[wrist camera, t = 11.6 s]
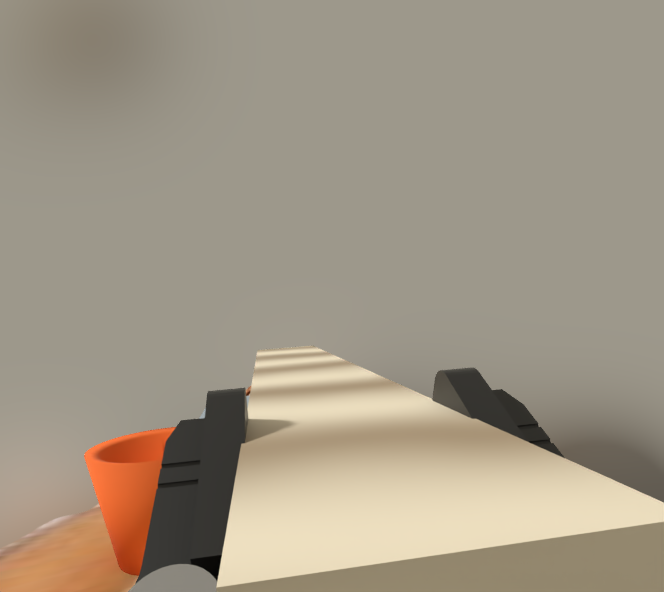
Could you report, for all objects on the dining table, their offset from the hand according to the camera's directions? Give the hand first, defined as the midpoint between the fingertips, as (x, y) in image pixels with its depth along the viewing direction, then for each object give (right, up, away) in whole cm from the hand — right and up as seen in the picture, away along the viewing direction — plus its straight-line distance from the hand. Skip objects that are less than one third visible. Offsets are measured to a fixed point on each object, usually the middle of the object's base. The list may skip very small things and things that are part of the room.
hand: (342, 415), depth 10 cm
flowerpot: (-30, -44, +79) cm, 95 cm away
